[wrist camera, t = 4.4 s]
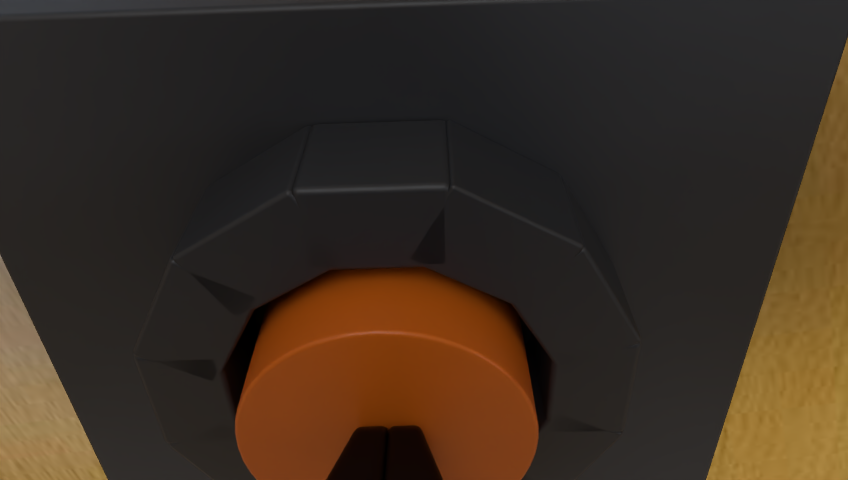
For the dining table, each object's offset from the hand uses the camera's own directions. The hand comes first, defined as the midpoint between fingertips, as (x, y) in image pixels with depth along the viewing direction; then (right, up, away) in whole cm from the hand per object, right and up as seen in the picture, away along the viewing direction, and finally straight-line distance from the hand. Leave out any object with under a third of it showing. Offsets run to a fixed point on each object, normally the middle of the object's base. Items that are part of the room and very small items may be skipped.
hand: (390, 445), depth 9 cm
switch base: (0, +3, +4) cm, 5 cm away
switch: (0, +1, +2) cm, 2 cm away
